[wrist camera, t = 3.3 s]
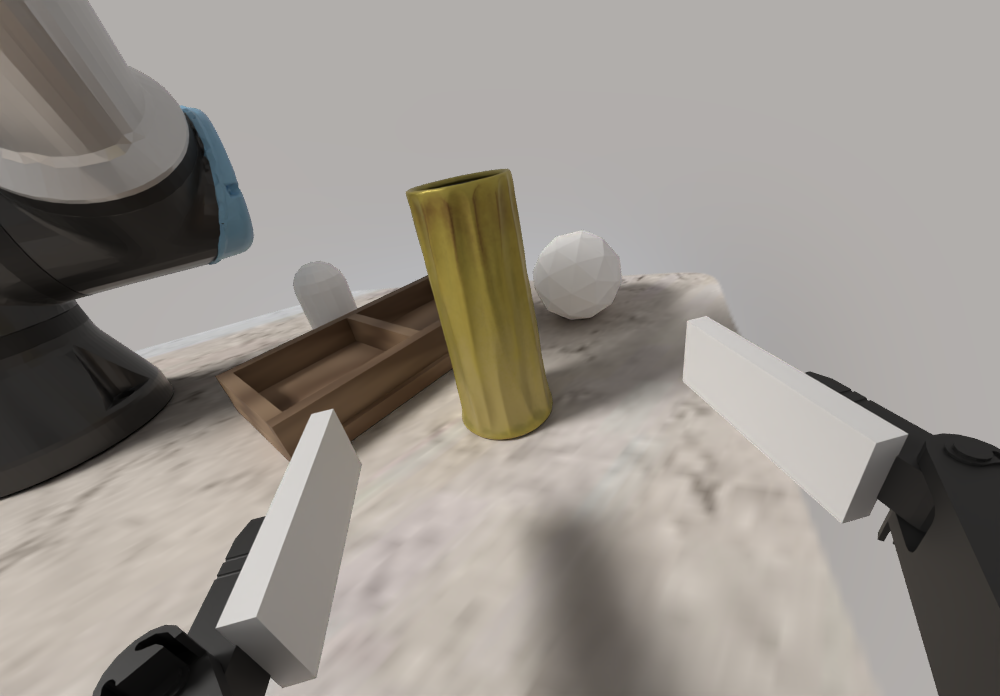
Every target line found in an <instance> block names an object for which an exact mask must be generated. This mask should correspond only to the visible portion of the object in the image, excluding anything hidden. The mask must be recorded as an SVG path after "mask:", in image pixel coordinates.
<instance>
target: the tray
mask: <svg viewBox="0 0 1000 696" xmlns="http://www.w3.org/2000/svg"><path fill="white" fill-rule="evenodd" d="M452 368H453V367H452V363H451V359H450V355H449V351H448V347H447V343H446V340H445V336H444V333H443V329H442V325H441V322H440V318H439V314H438V310H437V306H436V303H435V299H434V295H433V292H432V288H431V285H430V281H429V277H428V275H427V276H425V277H423V278H421V279H419V280H417V281H415V282H412V283H410V284H409V285H406V286H404V287H402V288H400V289H398V290H396V291H394V292H391V293H389V294H387V295H385V296H383V297H381V298H379V299H377V300H375V301H372V302H370V303H368V304H366V305H364V306H362V307H360V308H358V309H356V310H354V311H351V312H349V313H347V314H345V315H343V316H341V317H339V318H337V319H335V320H333V321H330V322H328V323H326V324H324V325H322V326H320V327H318V328H316V329H314V330H312V331H309V332H307V333H305V334H303V335H301V336H299V337H297V338H295V339H293V340H290V341H288V342H286V343H284V344H282V345H280V346H278V347H276V348H274V349H272V350H269V351H267V352H265V353H263V354H261V355H259V356H257V357H255V358H253V359H251V360H248V361H246V362H244V363H242V364H240V365H238V366H236V367H234V368H232V369H229V370H227V371H225V372H223V373H221V374H219V375H217V376H215V377H216V378H217V380H218V381H219V383H220V384H221V386H222V387H223V389H224V390H225V392H226V393H227V395H228V396H229V398H230V399H231V402H232V403H233V405H234V406H235V408H236V409H237V411H238V412H239V413H240V414H241V415H242V416H243V417H244V418H245V419H246V420H247V421H248V422H250V423H251V424H252V425H253V426H254V427H255V428H256V429H257V430H258V431H259V432H260V433H261V434H262V435H263V436H264V437H265V438H266V439H267V440H268V441H269V442H270V443H271V444H272V445H273V446H274V447H275V448H276V449H277V450H278V451H279V452H280V453H281V454H282V455H283V456H284V457H285V458H286V459H287V460H288V461H289V462H290V461H291V458H292V456H293V454H294V452H295V449H296V447H297V445H298V443H299V441H300V438H301V436H302V434H303V432H304V429H305V427H306V425H307V423H308V420H309V418H310V416H311V414H314V413H318V412H322V411H326V410H330V409H334V411H335V413H336V415H337V417H338V419H339V421H340V423H341V424H342V426H343V428H344V430H345V432H346V434H347V436H348V438H349V440H350V442H351V441H352V440H353V439H355V438H356V437H358V436H359V435H360V434H362V433H363V432H364V431H366V430H367V429H369V428H370V427H371V426H373V425H374V424H376V423H377V422H378V421H380V420H381V419H383V418H384V417H385V416H387V415H388V414H390V413H391V412H392V411H394V410H395V409H396V408H398V407H399V406H401V405H402V404H403V403H405V402H406V401H408V400H409V399H410V398H412V397H413V396H415V395H416V394H417V393H419V392H420V391H422V390H423V389H424V388H426V387H427V386H428V385H430V384H431V383H433V382H434V381H435V380H437V379H438V378H440V377H441V376H442V375H444V374H445V373H447V372H448V371H449V370H451V369H452Z"/></svg>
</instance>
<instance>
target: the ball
mask: <svg viewBox="0 0 1000 696" xmlns="http://www.w3.org/2000/svg"><path fill="white" fill-rule="evenodd" d="M533 277H534V286H535V289H536V291H537V293H538V295H539V297H540V298H541V300H542V302H543V303H544V305H545V307H546V309H547V310H548V311H550V312H552V313H555V314H557V315H560V316H562V317H565V318H567V319H570V320H573V319H583V318H591V317H593V316H594V315H596V314H597V313H599V312H600V311H601V310H603V309H604V308H606V307H607V306H609V305H610V304H612V302H613V300H614V298H615V296H616V293H617V291H618V289H619V287H620V285H621V283H622V275H621V266H620V258H619V256H618V255H617V254H616V253H615V251H614V250H613V249H612V248H611V247H610V246H609V245H608V244H607V242H606V241H605V240H604V239H603V238H601V237H598V236H596V235H593V234H591V233H588V232H586V231H583V230H581V231H577V232H573V233H569V234H565V235H561V236H557V237H556V238H555V239H553V241H551V242H550V244H549V245H548V246H547V247H546V248H545V249H544V250H543V251H542V252H541V254H540V256H539V258H538V260H537V262H536V265H535V267H534V271H533Z"/></svg>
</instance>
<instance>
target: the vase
mask: <svg viewBox="0 0 1000 696" xmlns="http://www.w3.org/2000/svg"><path fill="white" fill-rule="evenodd" d="M406 196H407V199H408V203H409V206H410V209H411V213H412V217H413V221H414V225H415V228H416V232H417V236H418V239H419V243H420V246H421V249H422V253H423V256H424V260H425V265H426V269H427V272H428V277H429V281H430V285H431V288H432V292H433V295H434V299H435V303H436V306H437V310H438V314H439V318H440V322H441V325H442V329H443V333H444V336H445V340H446V343H447V347H448V351H449V355H450V359H451V363H452V367H453V371H454V376H455V380H456V385H457V389H458V393H459V397H460V401H461V406H462V419H463V422H464V424H465V426H466V427H467V428H468V429H469V430H470V431H471V432H473V433H474V434H476V435H478V436H480V437H483V438H488V439H494V440H502V439H512V438H516V437H519V436H522V435H525V434H527V433H529V432H531V431H533V430H535V429H536V428H538V427H539V426H540V425H541V424H542V423H543V422H544V421H545V420H546V419H547V418H548V416H549V415H550V413H551V410H552V404H553V400H552V395H551V392H550V390H549V387H548V383H547V379H546V375H545V369H544V364H543V359H542V354H541V348H540V340H539V333H538V327H537V322H536V316H535V311H534V305H533V300H532V294H531V289H530V284H529V279H528V274H527V269H526V261H525V253H524V246H523V240H522V233H521V227H520V221H519V215H518V210H517V204H516V198H515V192H514V185H513V179H512V174H511V171H510V170H509V169H498V170H490V171H483V172H478V173H472V174H467V175H462V176H457V177H453V178H448V179H444V180H440V181H436V182H432V183H428V184H424V185H421V186H417V187H414V188H412V189H409V190H408V191H407V192H406Z"/></svg>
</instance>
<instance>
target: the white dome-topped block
mask: <svg viewBox="0 0 1000 696" xmlns="http://www.w3.org/2000/svg"><path fill="white" fill-rule="evenodd" d="M293 286H294V290H295V294H296V296H297V298H298V300H299V302H300V304H301V306H302V308H303V311H304V313H305V315H306V317H307V319H308V321H309V323H310V325H311V327H312V329H313V330H314V329H316V328H318V327H320V326H322V325H324V324H326V323H328V322H330V321H333V320H335V319H337V318H339V317H341V316H343V315H345V314H347V313H349V312H351V311H354V310H356V309H358V308H357V306H356V304H355V301H354V299H353V296H352V294H351V291H350V289H349V286H348V284H347V281H346V279H345V278H344V276H343V275H342V273H341V271H340V270H338V269H337V268H336V267H334V266H333V265H331V264H329V263H325V262H321V261H316V262H311V263H308V264H305V265H303V266H302V267H301V268H300V269H299V270H298V272H297V273H296V274H295V277H294V282H293Z"/></svg>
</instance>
